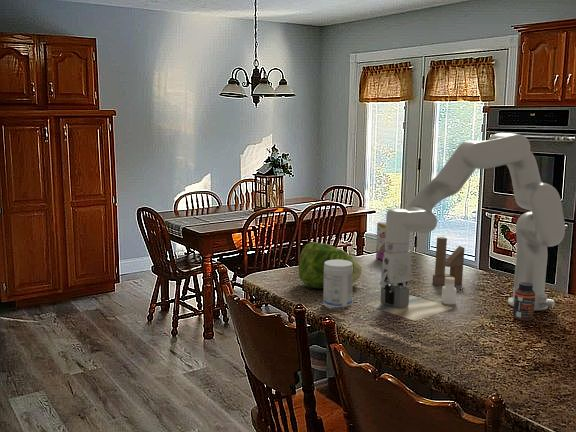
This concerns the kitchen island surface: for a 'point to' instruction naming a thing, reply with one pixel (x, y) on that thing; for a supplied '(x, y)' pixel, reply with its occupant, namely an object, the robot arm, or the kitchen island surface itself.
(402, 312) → the plywood panel
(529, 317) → the supplement bottle
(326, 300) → the supplement tub
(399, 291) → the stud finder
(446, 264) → the wooden letter
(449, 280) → the pepper shaker
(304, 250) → the lettuce
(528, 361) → the kitchen island surface
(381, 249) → the candy bar box
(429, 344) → the kitchen island surface
